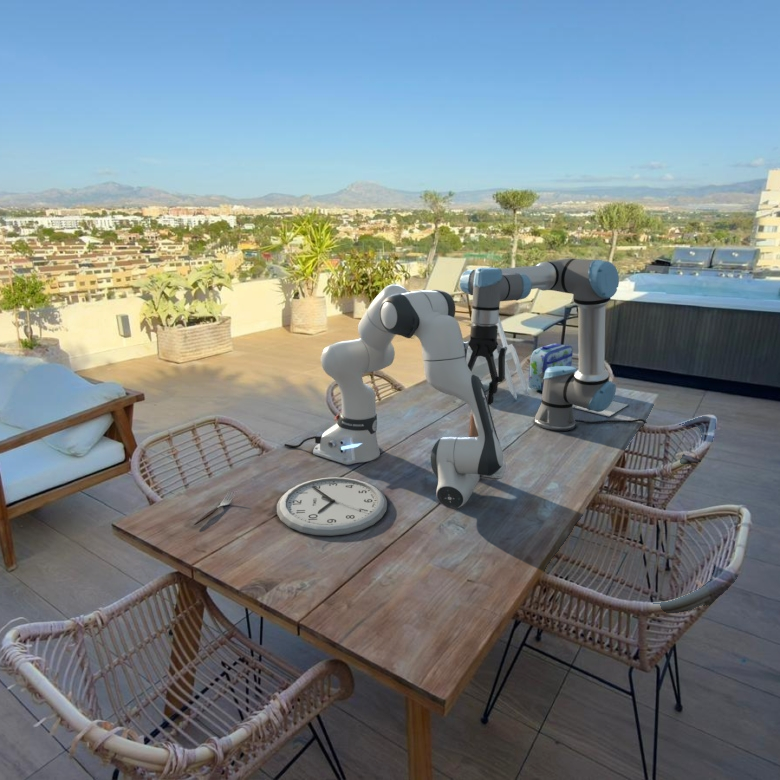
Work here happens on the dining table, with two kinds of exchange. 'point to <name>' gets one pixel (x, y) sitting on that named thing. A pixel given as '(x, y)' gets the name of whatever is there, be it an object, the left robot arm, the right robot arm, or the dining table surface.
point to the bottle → (472, 427)
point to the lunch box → (547, 362)
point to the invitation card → (607, 409)
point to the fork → (223, 503)
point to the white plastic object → (482, 367)
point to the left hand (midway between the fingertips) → (475, 454)
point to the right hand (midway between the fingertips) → (479, 401)
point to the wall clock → (331, 506)
